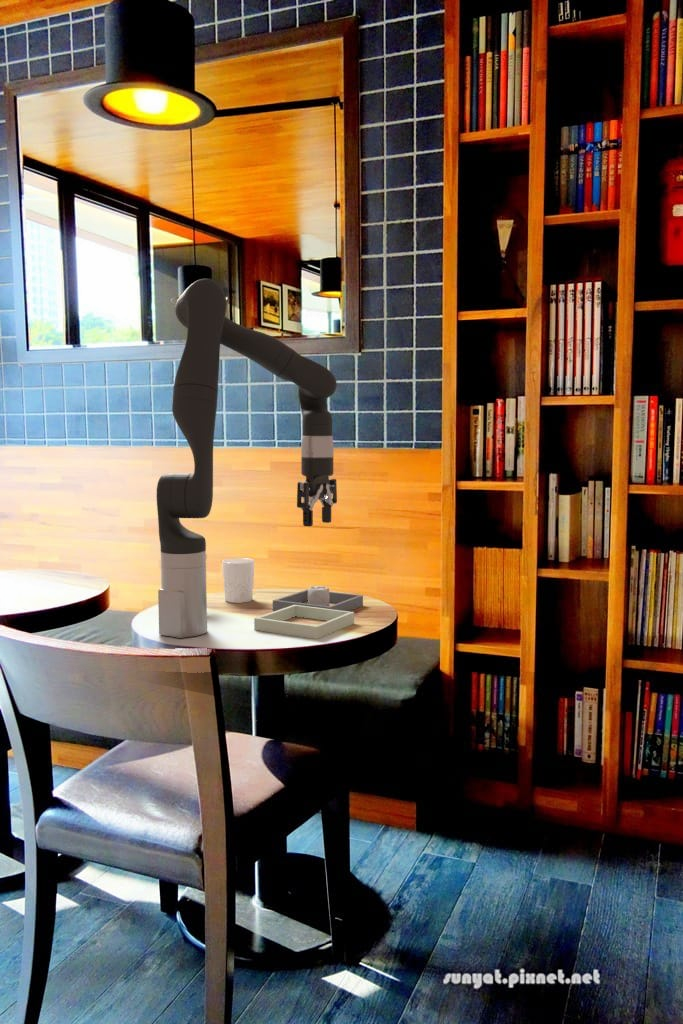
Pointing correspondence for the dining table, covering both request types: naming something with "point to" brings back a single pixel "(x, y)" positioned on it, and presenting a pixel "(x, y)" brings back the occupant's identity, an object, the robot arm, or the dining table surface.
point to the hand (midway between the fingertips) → (317, 524)
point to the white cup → (238, 579)
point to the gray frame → (342, 599)
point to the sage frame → (278, 625)
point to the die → (318, 595)
